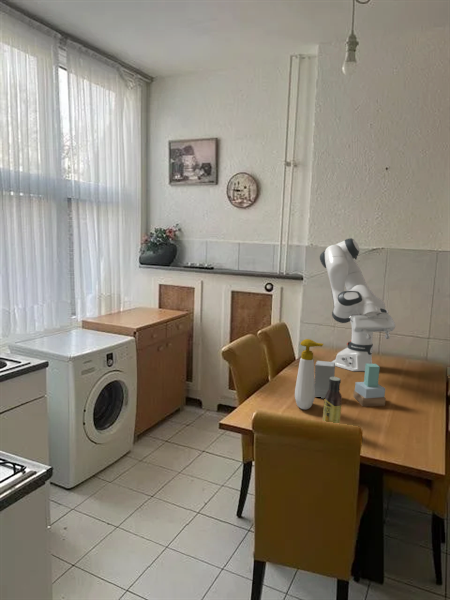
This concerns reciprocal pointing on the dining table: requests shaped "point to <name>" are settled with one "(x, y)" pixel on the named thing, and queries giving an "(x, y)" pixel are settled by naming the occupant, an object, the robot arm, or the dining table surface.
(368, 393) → the grey block
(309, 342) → the soap bottle
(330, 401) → the sauce bottle
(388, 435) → the dining table surface
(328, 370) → the skincare box
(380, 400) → the walnut block
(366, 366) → the teal block
